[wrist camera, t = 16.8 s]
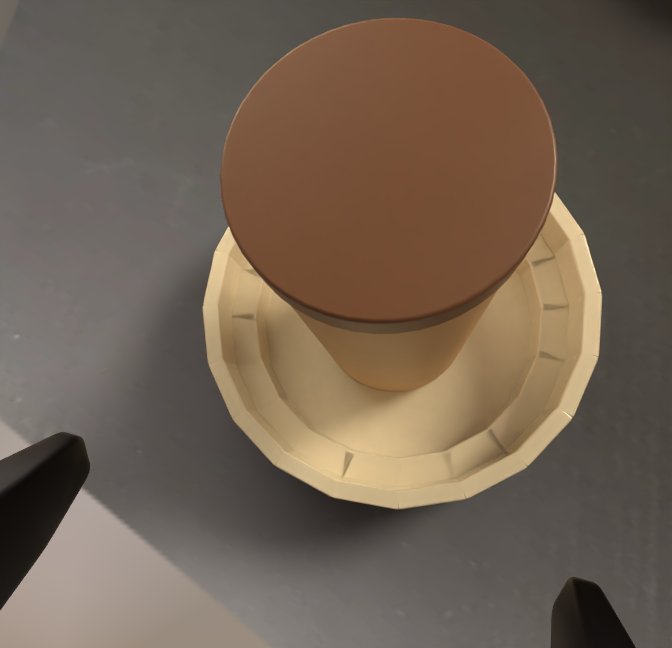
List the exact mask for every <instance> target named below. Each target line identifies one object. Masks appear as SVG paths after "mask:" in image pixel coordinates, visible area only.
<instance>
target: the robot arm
mask: <svg viewBox="0 0 672 648" xmlns="http://www.w3.org/2000/svg"><path fill="white" fill-rule="evenodd" d="M89 471H90V462H89V459H88V455H87V451H86V447H85V443H84V440H83V439H82V438H81V437H80V436H77V435H73V434H70V433H66V432H60V433H57V434H55V435H52V436H50V437H48V438H46V439H44V440H42V441H40V442H38V443H36V444H34V445H32V446H29V447H27V448H25V449H23V450H21V451H19V452H17V453H15V454H13V455H11V456H9V457H6V458H4V459H2V460H0V610H1V609H2V607H3V606H4V604H5V603H6V602H7V600H8V599H9V598H10V596H11V595H12V594H13V592H14V591H15V589H16V588H17V587H18V585H19V584H20V582H21V581H22V580H23V578H24V577H25V576H26V574H27V573H28V571H29V570H30V569H31V567H32V566H33V565H34V563H35V562H36V560H37V559H38V558H39V556H40V554H41V553H42V552H43V550H44V549H45V547H46V546H47V544H48V543H49V541H50V539H51V538H52V536H53V534H54V533H55V531H56V529H57V528H58V526H59V524H60V523H61V521H62V519H63V518H64V516H65V514H66V512H67V511H68V509H69V507H70V505H71V504H72V502H73V501H74V499H75V497H76V496H77V494H78V492H79V491H80V489H81V487H82V485H83V484H84V482H85V480H86V479H87V477H88V474H89ZM551 648H636V647H635V645H634V644H633V642H632V640H631V639H630V637H629V635H628V634H627V632H626V630H625V628H624V627H623V625H622V623H621V622H620V620H619V618H618V617H617V615H616V613H615V611H614V610H613V608H612V606H611V605H610V603H609V601H608V600H607V598H606V596H605V595H604V593H603V591H602V590H601V588H600V587H599V586H598V585H597V584H595V583H594V582H590V581H587V580H583V579H580V578H576V577H571V578H569V579H568V580H567V582H566V584H565V585H564V587H563V589H562V590H561V592H560V594H559V596H558V597H557V599H556V601H555V603H554V605H553V609H552V619H551Z"/></svg>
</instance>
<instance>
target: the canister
mask: <svg viewBox="0 0 672 648" xmlns="http://www.w3.org/2000/svg"><path fill="white" fill-rule="evenodd" d="M557 168H558V158H557V147H556V139H555V135H554V131H553V127H552V123H551V120H550V117H549V115H548V112H547V110H546V108H545V105H544V103H543V101H542V99H541V97H540V96H539V94H538V92H537V91H536V89H535V87H534V86H533V84H532V83H531V81H530V80H529V79H528V78H527V77H526V75H525V74H524V73H523V72H522V70H521V69H520V68H519V67H518V66H517V65H516V64H515V63H514V62H512V61H511V60H510V59H509V58H508V57H507V56H506V55H505V54H503V53H502V52H501V51H499V50H498V49H496V48H495V47H494V46H492V45H491V44H489V43H488V42H486V41H484V40H482V39H480V38H478V37H476V36H475V35H473V34H471V33H468V32H466V31H463V30H460V29H458V28H455V27H453V26H449V25H445V24H441V23H437V22H433V21H427V20H419V19H412V18H386V19H375V20H367V21H362V22H357V23H353V24H349V25H345V26H342V27H339V28H336V29H333V30H330V31H328V32H325V33H323V34H321V35H319V36H316V37H314V38H312V39H310V40H308V41H307V42H305V43H303V44H301V45H300V46H298V47H296V48H295V49H293V50H292V51H291V52H289V53H288V54H286V55H285V56H284V57H282V58H281V59H280V60H278V61H277V62H276V63H275V64H274V65H273V66H272V67H271V68H270V69H269V70H268V71H266V72H265V73H264V74H263V76H262V77H261V78H260V79H259V80H258V81H257V83H256V84H255V85H254V86H253V87H252V88H251V90H250V91H249V93H248V94H247V96H246V97H245V99H244V100H243V102H242V103H241V105H240V107H239V109H238V111H237V113H236V115H235V117H234V119H233V121H232V123H231V126H230V129H229V132H228V135H227V137H226V140H225V145H224V150H223V155H222V160H221V175H220V184H221V198H222V203H223V208H224V212H225V217H226V220H227V223H228V225H229V228H230V231H231V233H232V236H233V238H234V240H235V242H236V243H237V245H238V247H239V249H240V251H241V252H242V254H243V255H244V257H245V258H246V259H247V261H248V262H249V263H250V265H251V266H252V267H253V269H254V270H255V271H256V272H257V274H258V275H259V276H260V277H261V278H262V279H263V281H264V282H265V283H266V284H267V285H268V286H269V287H270V288H271V289H272V290H273V291H274V292H275V293H276V294H277V295H278V296H279V297H280V298H281V299H283V300H284V301H285V302H287V303H288V304H289V305H290V306H291V307H292V308H293V309H294V311H295V312H296V313H297V314H298V316H299V317H300V318H301V319H302V321H303V322H304V323H305V324H306V325H307V327H308V328H309V329H310V330H311V332H312V333H313V334H314V335H315V337H316V338H317V339H318V340H319V341H320V343H321V344H322V345H323V346H324V348H325V349H326V350H327V351H328V353H329V354H330V355H331V356H332V358H333V359H334V360H335V361H336V362H337V364H338V365H339V366H340V367H341V368H342V369H343V370H344V371H345V372H346V373H347V374H348V375H349V376H350V377H352V378H353V379H354V380H356V381H358V382H359V383H361V384H363V385H365V386H368V387H370V388H373V389H377V390H381V391H389V392H400V391H408V390H412V389H416V388H419V387H421V386H424V385H426V384H428V383H430V382H432V381H433V380H435V379H436V378H438V377H439V376H440V375H442V374H443V373H444V372H445V371H446V370H447V369H448V368H449V367H450V365H451V364H452V363H453V361H454V360H455V358H456V357H457V355H458V354H459V352H460V350H461V349H462V347H463V346H464V344H465V342H466V341H467V339H468V337H469V336H470V334H471V333H472V331H473V329H474V328H475V326H476V325H477V323H478V321H479V320H480V318H481V317H482V315H483V313H484V312H485V310H486V308H487V307H488V305H489V304H490V302H491V300H492V299H493V297H494V296H495V294H496V292H497V291H498V289H499V288H500V287H501V286H502V285H503V284H504V283H505V282H506V281H507V280H508V279H509V278H510V277H511V275H512V274H513V273H514V271H515V270H516V269H517V267H518V266H519V265H520V263H521V262H522V261H523V259H524V258H525V256H526V255H527V253H528V252H529V250H530V249H531V247H532V246H533V244H534V242H535V241H536V239H537V237H538V235H539V233H540V231H541V230H542V228H543V226H544V224H545V222H546V219H547V216H548V214H549V211H550V208H551V205H552V202H553V198H554V193H555V188H556V183H557Z"/></svg>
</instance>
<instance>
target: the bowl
mask: <svg viewBox="0 0 672 648" xmlns="http://www.w3.org/2000/svg"><path fill="white" fill-rule="evenodd" d="M601 307H602V294H601V289H600V285H599V282H598V279H597V275H596V272H595V268H594V265H593V262H592V258H591V255H590V251H589V248H588V245H587V241H586V238H585V235H584V233H583V231H582V230H581V228H580V227H579V226H578V224H577V223H576V221H575V220H574V219H573V217H572V216H571V214H570V213H569V211H568V210H567V209H566V207H565V206H564V204H563V203H562V202H561V200H560V199H559V197H558V196H557V194H556V193H554V198H553V202H552V205H551V208H550V211H549V214H548V216H547V219H546V222H545V224H544V226H543V228H542V230H541V231H540V233H539V235H538V237H537V239H536V241H535V242H534V244H533V246H532V247H531V249H530V250H529V252H528V253H527V255H526V256H525V258H524V259H523V261H522V262H521V263H520V265H519V266H518V267H517V269H516V270H515V271H514V273H513V274H512V275H511V277H510V278H509V279H508V280H507V281H506V282H505V283H504V284H503V285H502V286H501V287H500V288H499V289H498V291H497V292H496V294H495V296H494V297H493V299H492V300H491V302H490V304H489V305H488V307H487V308H486V310H485V312H484V313H483V315H482V317H481V318H480V320H479V321H478V323H477V325H476V326H475V328H474V329H473V331H472V333H471V334H470V336H469V337H468V339H467V341H466V342H465V344H464V346H463V347H462V349H461V350H460V352H459V354H458V355H457V357H456V358H455V360H454V361H453V363H452V364H451V365H450V367H449V368H448V369H447V370H446V371H445V372H444V373H443V374H442V375H440V376H439V377H438V378H436V379H435V380H433V381H432V382H430V383H428V384H426V385H424V386H421V387H419V388H416V389H412V390H408V391H400V392H389V391H381V390H377V389H373V388H370V387H368V386H365V385H363V384H361V383H359V382H358V381H356V380H354V379H353V378H352V377H350V376H349V375H348V374H347V373H346V372H345V371H344V370H343V369H342V368H341V367H340V366H339V365H338V364H337V362H336V361H335V360H334V359H333V358H332V356H331V355H330V354H329V353H328V351H327V350H326V349H325V348H324V346H323V345H322V344H321V343H320V341H319V340H318V339H317V338H316V337H315V335H314V334H313V333H312V332H311V330H310V329H309V328H308V327H307V325H306V324H305V323H304V322H303V321H302V319H301V318H300V317H299V316H298V314H297V313H296V312H295V311H294V309H293V308H292V307H291V306H290V305H289V304H288V303H287V302H285V301H284V300H283V299H281V298H280V297H279V296H278V295H277V294H276V293H275V292H274V291H273V290H272V289H271V288H270V287H269V286H268V285H267V284H266V283H265V282H264V281H263V279H262V278H261V277H260V276H259V275H258V274H257V272H256V271H255V270H254V269H253V267H252V266H251V265H250V263H249V262H248V261H247V259H246V258H245V257H244V255H243V254H242V252H241V251H240V249H239V247H238V245H237V243H236V242H235V240H234V238H233V236H232V233H231V231H230V228H229V227H228V229H227V230H226V232H225V234H224V236H223V238H222V239H221V241H220V243H219V245H218V246H217V248H216V251H215V252H214V257H213V261H212V266H211V271H210V275H209V280H208V284H207V289H206V293H205V298H204V303H203V317H204V327H205V338H206V348H207V359H208V364H209V367H210V370H211V372H212V374H213V376H214V379H215V381H216V383H217V386H218V388H219V390H220V392H221V395H222V397H223V399H224V401H225V404H226V406H227V408H228V411H229V413H230V415H231V417H232V419H233V421H234V422H235V423H236V424H237V425H238V426H239V427H240V429H241V430H242V431H243V432H244V433H245V434H246V435H247V436H248V437H249V438H250V440H251V441H252V442H253V443H254V444H255V445H256V446H257V447H258V448H259V449H260V451H261V452H262V453H263V454H264V455H265V456H266V457H267V458H268V459H269V460H270V462H271V463H272V464H273V465H275V466H276V467H277V468H279V469H281V470H283V471H285V472H286V473H288V474H290V475H292V476H294V477H295V478H297V479H299V480H301V481H303V482H304V483H306V484H308V485H310V486H312V487H313V488H315V489H317V490H319V491H321V492H322V493H324V494H326V495H328V496H330V497H332V498H336V499H341V500H347V501H352V502H358V503H363V504H369V505H374V506H380V507H385V508H391V509H396V510H397V509H407V508H413V507H420V506H427V505H433V504H440V503H447V502H454V501H460V500H465V498H466V499H468V498H470V497H472V496H474V495H476V494H478V493H480V492H482V491H484V490H486V489H488V488H489V487H491V486H493V485H495V484H497V483H499V482H501V481H503V480H505V479H507V478H509V477H510V476H512V475H514V474H516V473H518V472H520V471H522V470H524V469H526V467H528V466H529V465H530V464H531V463H532V462H533V461H534V460H535V459H536V458H537V456H538V455H539V454H540V453H541V452H542V451H543V450H544V449H545V448H546V447H547V446H548V445H549V443H550V442H551V441H552V440H553V439H554V438H555V437H556V436H557V435H558V434H559V433H560V432H561V431H562V429H563V428H564V427H565V426H566V425H567V424H568V423H569V422H570V421H571V420H572V417H573V416H574V415H575V412H576V410H577V407H578V405H579V403H580V400H581V398H582V396H583V393H584V391H585V389H586V386H587V384H588V382H589V379H590V377H591V375H592V372H593V370H594V367H595V365H596V363H597V360H598V358H597V357H599V344H600V326H601Z"/></svg>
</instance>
